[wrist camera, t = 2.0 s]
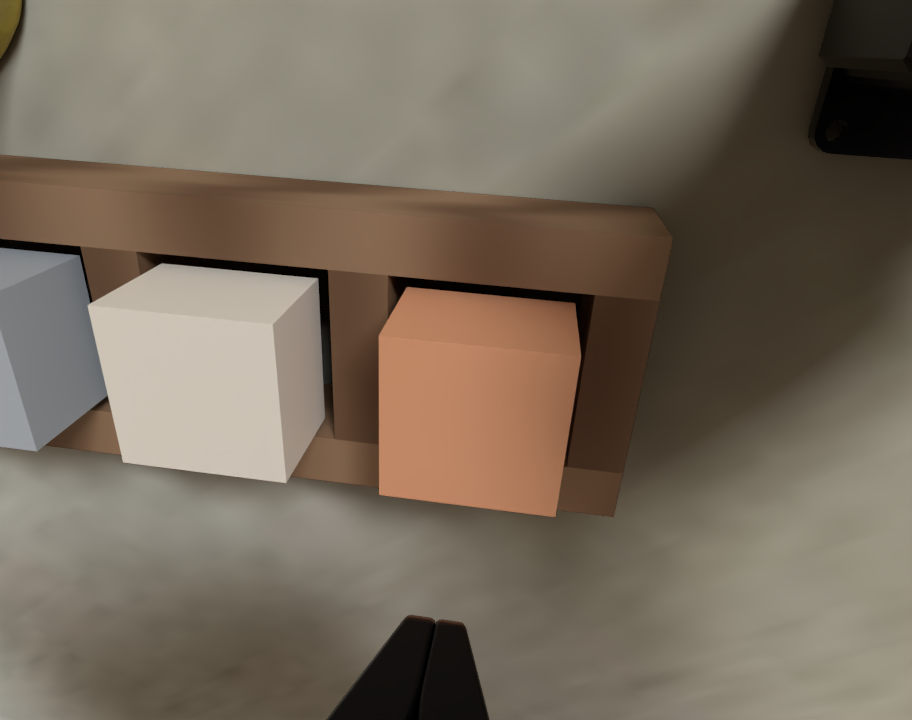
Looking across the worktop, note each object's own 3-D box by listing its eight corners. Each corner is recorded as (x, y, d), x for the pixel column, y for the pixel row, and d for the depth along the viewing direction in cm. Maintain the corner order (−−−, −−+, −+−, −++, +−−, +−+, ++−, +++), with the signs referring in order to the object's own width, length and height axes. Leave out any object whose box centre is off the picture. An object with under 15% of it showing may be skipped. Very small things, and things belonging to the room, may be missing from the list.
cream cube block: (318, 278, 16) (272, 324, 13) (324, 418, 18) (286, 483, 15) (161, 263, 16) (87, 305, 14) (185, 401, 18) (123, 462, 16)
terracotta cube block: (574, 302, 15) (581, 356, 13) (553, 444, 17) (555, 517, 15) (407, 286, 16) (379, 335, 13) (404, 427, 18) (379, 494, 15)
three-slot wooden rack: (653, 208, 17) (673, 238, 14) (604, 455, 20) (613, 516, 18) (-70, 149, 19) (-173, 166, 16) (4, 384, 22) (-71, 431, 20)
